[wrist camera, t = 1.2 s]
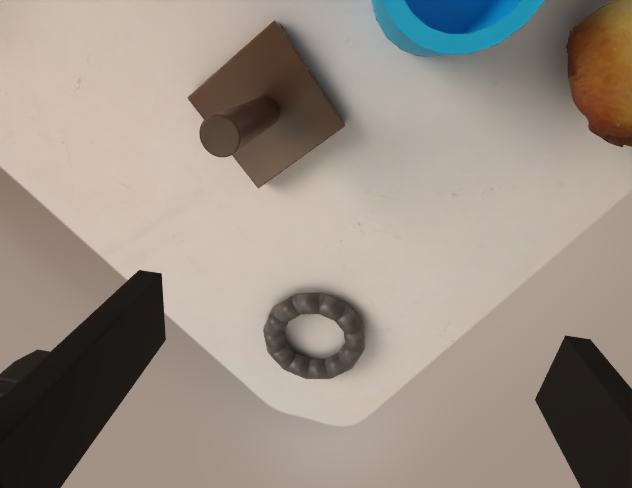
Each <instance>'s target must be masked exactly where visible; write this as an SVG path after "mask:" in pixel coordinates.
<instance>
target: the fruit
mask: <svg viewBox="0 0 632 488" xmlns="http://www.w3.org/2000/svg"><path fill="white" fill-rule="evenodd" d="M566 49H567V53H568V78H569V82H570V87H571V92H572V97H573V100H574V102H575V104H576V106H577V108H578V109H579V110H580V111H581V112H582V114H583V115H585V116H586V117H587V119H588V121H589V125H588V127H589V130H590V131H591V132H593V133H594V134H596V135H598V136H599V137H601V138H603V139H604V140H605V141H607V142H609V143H611V144H614V145H616V146H620V147H623V145H627V146H632V0H616V1H613V2H611V3H609V4H607V5H606V6H604V7H602V8H600V9H598V10H597V11H596V12H594V13H593V14H591V15H590V16H588V17H587V18H586V19H585V20H584V21H583V22H581V23H580V24H579V25H578V26H575V27H574V28H573V30H572V31H570V35H569V38H568V42H567V46H566Z"/></svg>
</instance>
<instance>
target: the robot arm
mask: <svg viewBox="0 0 632 488" xmlns="http://www.w3.org/2000/svg"><path fill="white" fill-rule="evenodd" d="M165 340H166V338H165V322H164V305H163V289H162V274H161V273H155V272H148V271H142V270H139V271H138V272H137V273H136V274H134V275H133V276H132V277H131V278H130V279H129V280H128V281H127V282H126V283H125V284H124V285H122V286H121V287H120V288H119V289H118V290H117V291H116V292H115V293H114V294H113V295H112V296H111V297H109V298H108V299H107V300H106V301H105V302H104V303H103V304H102V305H101V306H100V307H99V308H98V309H97V310H95V311H94V312H93V313H92V314H91V315H90V316H89V317H88V318H87V319H86V320H85V321H84V322H82V323H81V324H80V325H79V326H78V327H77V328H76V329H75V330H74V331H73V332H72V333H70V335H68V336H67V337H66V338H65V339H64V340H63V341H62V342H61V343H60V344H59V345H57V346H56V347H55V348H54V349H53V350H52V351H51V352H49V351H43V350H36V351H34V352H32V353H30V354H28V355H26V356H24V357H22V358H21V359H19V360H17V361H15V362H14V363H12V364H11V365H10V366H9V367H8V368H7V369H5V370H4V371H3V372H2V373H1V374H0V488H61V486H62V485H63V483H64V482H65V480H66V479H67V478H68V476H69V475H70V474H71V472H72V471H73V469H74V468H75V466H76V465H77V463H78V462H79V461H80V459H81V458H82V456H83V455H84V454H85V452H86V451H87V450H88V448H89V447H90V445H91V444H92V443H93V441H94V440H95V438H96V437H97V436H98V434H99V433H100V431H101V430H102V429H103V427H104V426H105V424H106V423H107V422H108V420H109V419H110V417H111V416H112V414H113V413H114V412H115V410H116V409H117V408H118V406H119V405H120V403H121V402H122V401H123V399H124V398H125V396H126V395H127V393H128V392H129V391H130V389H131V388H132V386H133V385H134V384H135V382H136V381H137V379H138V378H139V377H140V375H141V374H142V372H143V371H144V370H145V368H146V367H147V365H148V364H149V363H150V361H151V360H152V358H153V357H154V355H155V354H156V353H157V351H158V350H159V348H160V347H161V346H162V344H163V343H164V341H165ZM535 401H536V403H537V405H538V406H539V408H540V410H541V412H542V414H543V416H544V418H545V420H546V422H547V424H548V426H549V428H550V429H551V431H552V433H553V435H554V437H555V439H556V441H557V443H558V445H559V447H560V449H561V450H562V453H563V454H564V456H565V458H566V460H567V462H568V464H569V466H570V468H571V470H572V472H573V474H574V475H575V477H576V479H577V481H578V483H579V485H580V487H581V488H632V389H631V388H630V386H629V385H628V384H627V383H626V382H625V381H624V379H623V378H622V377H621V376H620V375H619V373H618V372H617V371H616V370H615V369H614V368H613V366H612V365H611V364H610V363H609V361H608V360H607V359H606V358H605V357H604V355H603V354H602V353H601V352H600V351H599V349H598V348H597V347H596V346H595V345H594V343H593V342H592V341H591V340H590V339H583V338H578V337H571V336H565V337H564V340H563V342H562V344H561V346H560V348H559V350H558V352H557V354H556V356H555V359H554V361H553V363H552V365H551V367H550V369H549V371H548V373H547V375H546V378H545V380H544V382H543V384H542V386H541V388H540V390H539V392H538V394H537V396H536V399H535Z"/></svg>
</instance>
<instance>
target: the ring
mask: <svg viewBox="0 0 632 488" xmlns="http://www.w3.org/2000/svg"><path fill="white" fill-rule="evenodd" d="M301 314H320V315H323V316H325V317H327V318H329V319H332V320H334V321H335V322H336V323H337V324H338V325H339V326H340V328H341V329H342V330H343V331H344V338H345V344H344V345H343V347H342V349H341V350H340V352H339V353H337V354H335V355H333V356H331V357H329V358H327V359H308V358H305V357H303V356H301V355H298V354H296V353H294V352H293V351H292V349H291V348H290V347H289V346H288V345H287V344H286V343H285V337H284V332H283V331H284V329H285V327H286V326H287V324H288V322H289V321H290V320H292V319H294V318H296V317H297V316H299V315H301ZM263 331H264V337H265V342H266V347H267V351H268V353H269V354H270V355H271V356H272V357H273V359H274V360H275V361H276V362H277V363H278V364H279V365H280V366H281V367H282V368H283V369H284V370H286V371H288V372H291V373H293V374H295V375H298V376H300V377H303V378H305V379H331V378H333V377H335V376H338V375H340V374H342V373H344V372H346V371H348V370H350V369H352V368H353V366H354V365H355V363H356V362H357V360H358V359H359V357H360V356H361V354H362V353H363V351H364V349H365V339H364V326H363V323H362V322H361V320H360V319H359V318H358V317H357V315H356V314H355V313H354V312H353V310H352V309H351V308H350V306H349V305H348V304H346V303H344V302H342V301H340V300H337V299H335V298H333V297H331V296H328V295H326V294H323V293H310V294H295V295H293V296H291V297H290V298H288V299H286V300H285V301H283V302H281V303H279V304H278V305H276V306H275V307H274V308H273V309H272V311H271V313H270V315H269V317H268V319H267V322H266V324H265V326H264V329H263Z"/></svg>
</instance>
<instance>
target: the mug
mask: <svg viewBox="0 0 632 488" xmlns="http://www.w3.org/2000/svg"><path fill="white" fill-rule="evenodd" d="M544 1H545V0H372V3H373V8H374V12H375V16H376V20H377V22H378V23H379V25H380V27H381V28H382V30H383V32H384V34H385V35H386V37H387V38H388V39H389V40H391V41H392V42H393V43H394V44H395V45H396V46H398V47H399V48H400V49H401V50H404V51H406V52H409V53H412V54H415V55H418V56H446V55H459V54H470V53H473V52H476V51H479V50H482V49H485V48H488V47H491V46H494V45H497V44H499V43H500V42H501V41H503V40H504V39H506V38H507V37H509V36H510V35H511V34H513V33H514V32H516V31H517V30H519V29H520V28H521V27H523V26H524V25H525V24H526V22H527V21H528V20H529V19H530V18H531V17H532V15H533V14H534V13H535V12H536V11H537V10H538V8H539V7H540V6H541V5H542V4H543V2H544Z"/></svg>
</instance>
